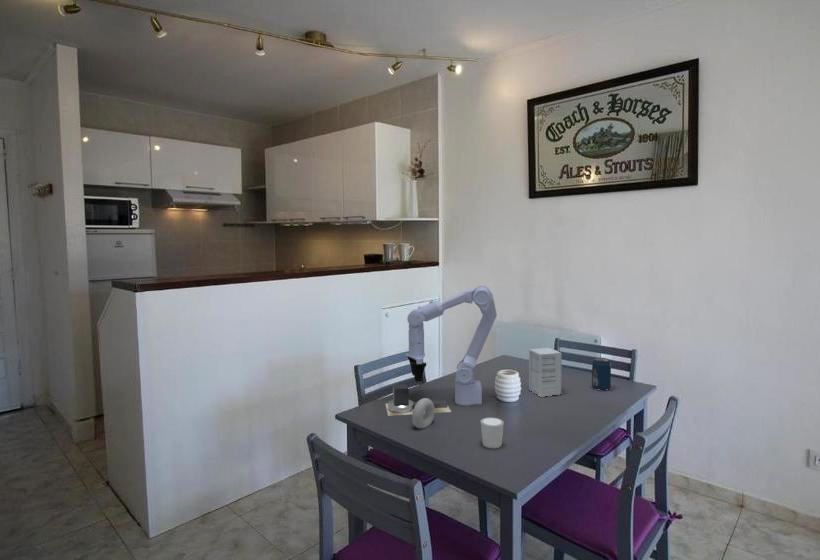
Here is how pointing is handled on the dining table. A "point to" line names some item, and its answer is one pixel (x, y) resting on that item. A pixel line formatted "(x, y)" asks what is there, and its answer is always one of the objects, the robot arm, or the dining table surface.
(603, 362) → the soda can
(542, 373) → the supplement box
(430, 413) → the donut
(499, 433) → the shot glass
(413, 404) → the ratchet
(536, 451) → the dining table surface
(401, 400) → the charcoal matte cube
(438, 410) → the board
